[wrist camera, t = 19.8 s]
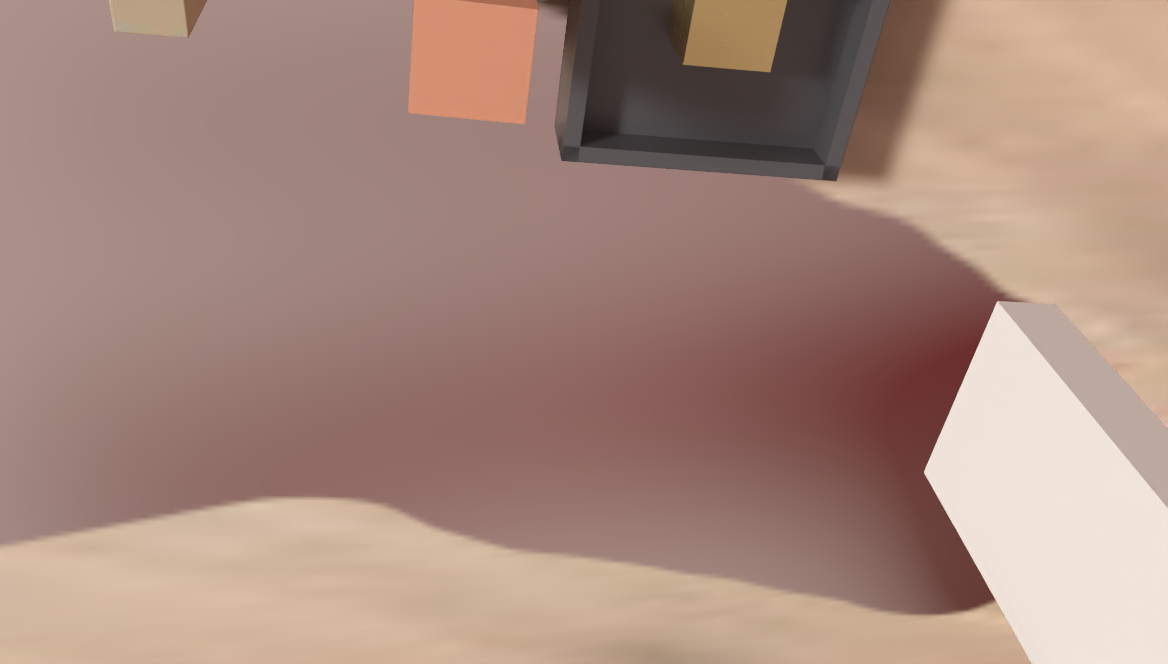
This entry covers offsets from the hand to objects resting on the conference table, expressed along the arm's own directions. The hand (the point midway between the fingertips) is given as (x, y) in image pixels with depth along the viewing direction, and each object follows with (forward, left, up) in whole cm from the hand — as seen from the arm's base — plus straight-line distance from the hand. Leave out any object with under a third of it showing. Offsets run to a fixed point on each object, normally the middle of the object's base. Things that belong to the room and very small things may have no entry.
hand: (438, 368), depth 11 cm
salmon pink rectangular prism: (+4, +1, -39) cm, 39 cm away
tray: (+5, +13, -39) cm, 41 cm away
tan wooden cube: (+5, +12, -36) cm, 39 cm away
